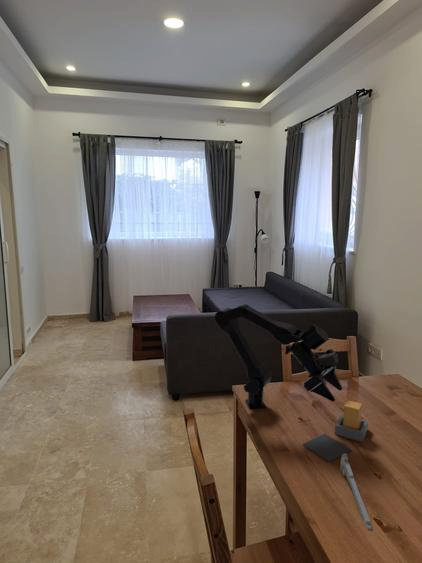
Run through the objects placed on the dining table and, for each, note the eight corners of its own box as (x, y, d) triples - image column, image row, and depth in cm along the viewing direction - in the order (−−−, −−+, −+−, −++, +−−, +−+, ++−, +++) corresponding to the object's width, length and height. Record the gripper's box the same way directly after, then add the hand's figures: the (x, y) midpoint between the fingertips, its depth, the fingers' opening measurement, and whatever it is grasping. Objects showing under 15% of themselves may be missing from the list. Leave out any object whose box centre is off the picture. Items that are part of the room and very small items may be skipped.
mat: (302, 445, 116) (302, 443, 116) (324, 434, 122) (324, 433, 122) (329, 462, 108) (329, 460, 108) (351, 450, 114) (351, 448, 113)
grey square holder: (334, 434, 122) (335, 425, 122) (341, 422, 129) (341, 414, 129) (362, 442, 118) (363, 433, 117) (367, 429, 125) (368, 421, 124)
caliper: (340, 471, 105) (341, 450, 104) (344, 471, 105) (345, 450, 104) (367, 530, 85) (369, 506, 84) (372, 531, 85) (374, 506, 84)
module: (342, 433, 123) (344, 405, 121) (346, 426, 127) (347, 400, 125) (357, 437, 120) (359, 409, 119) (360, 430, 124) (361, 403, 123)
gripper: (314, 352, 117) (350, 394, 113) (331, 336, 132) (362, 372, 128) (290, 371, 122) (322, 411, 118) (308, 353, 138) (338, 389, 134)
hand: (337, 395), depth 124 cm, fingers open, 9 cm apart
